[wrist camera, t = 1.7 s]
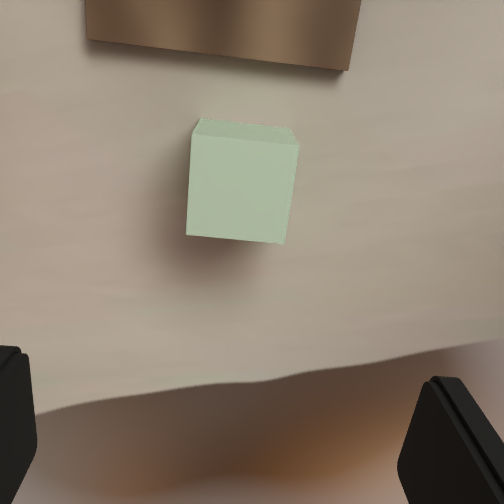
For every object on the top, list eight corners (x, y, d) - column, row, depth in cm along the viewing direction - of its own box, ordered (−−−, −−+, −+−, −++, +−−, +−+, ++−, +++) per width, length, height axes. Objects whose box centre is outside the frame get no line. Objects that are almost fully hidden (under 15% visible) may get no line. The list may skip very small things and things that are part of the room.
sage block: (289, 127, 31) (299, 145, 26) (277, 211, 33) (284, 244, 28) (200, 117, 31) (191, 134, 25) (195, 203, 33) (185, 234, 28)
